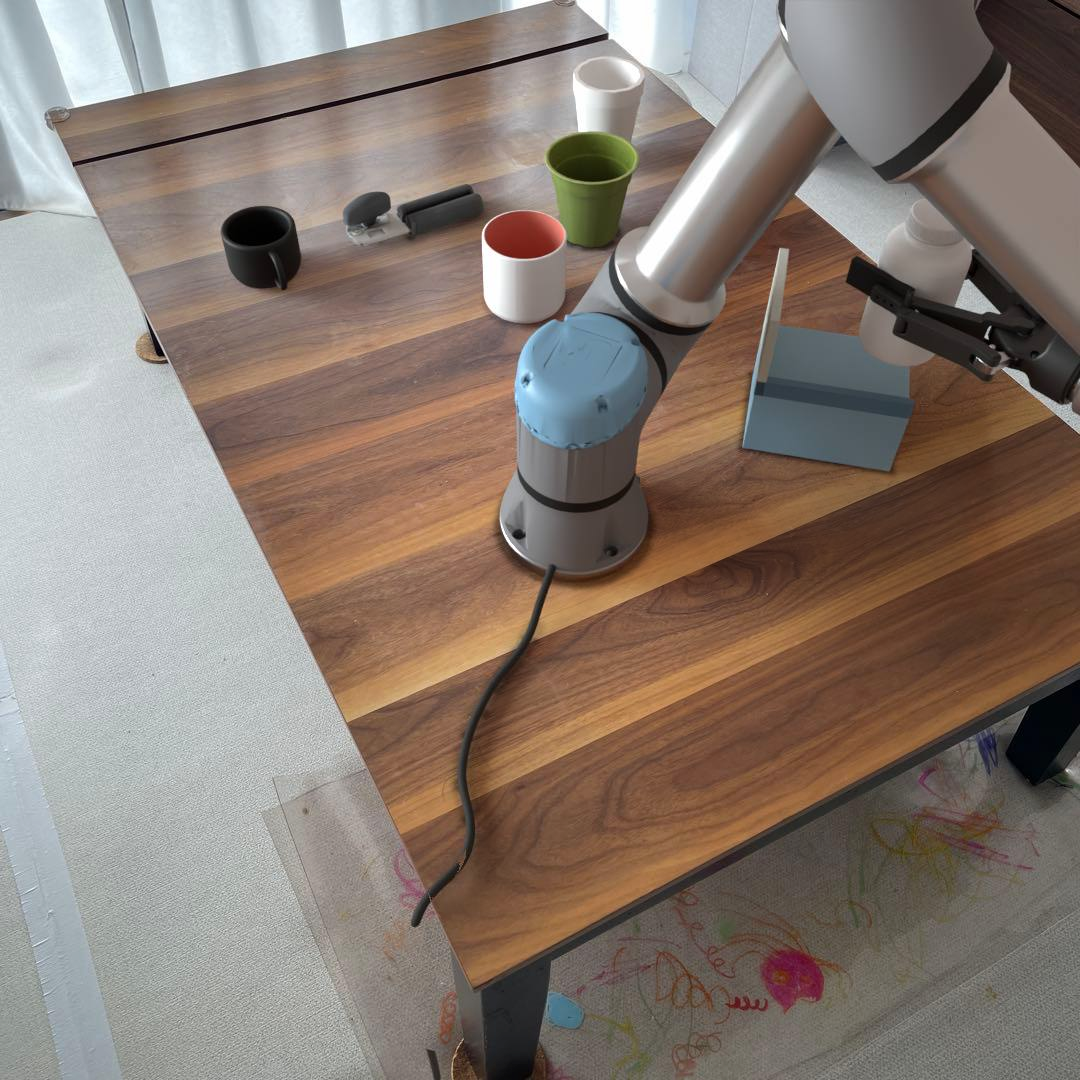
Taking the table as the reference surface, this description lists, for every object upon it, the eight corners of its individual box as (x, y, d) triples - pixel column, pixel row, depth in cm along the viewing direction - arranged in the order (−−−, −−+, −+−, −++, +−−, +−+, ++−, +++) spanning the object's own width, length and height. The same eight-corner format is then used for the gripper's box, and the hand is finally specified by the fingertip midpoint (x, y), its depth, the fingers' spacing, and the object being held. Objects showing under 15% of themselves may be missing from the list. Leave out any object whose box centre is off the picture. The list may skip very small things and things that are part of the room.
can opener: (358, 261, 143) (352, 218, 138) (341, 240, 146) (335, 198, 141) (487, 217, 150) (485, 175, 145) (468, 198, 152) (466, 156, 147)
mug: (222, 264, 143) (210, 217, 137) (288, 244, 145) (279, 197, 140) (254, 318, 136) (242, 270, 130) (323, 296, 139) (315, 248, 133)
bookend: (889, 472, 121) (937, 344, 107) (742, 448, 123) (769, 320, 109) (891, 397, 128) (936, 269, 114) (752, 375, 130) (779, 247, 116)
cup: (556, 333, 135) (558, 265, 127) (475, 322, 136) (472, 254, 128) (571, 283, 141) (574, 215, 133) (494, 272, 142) (492, 204, 134)
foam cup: (648, 156, 159) (657, 69, 149) (616, 187, 154) (622, 99, 144) (591, 136, 162) (596, 49, 152) (558, 166, 157) (560, 78, 147)
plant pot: (587, 195, 153) (590, 120, 144) (651, 233, 148) (659, 157, 139) (525, 231, 148) (524, 155, 139) (589, 271, 142) (593, 195, 134)
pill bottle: (953, 340, 111) (1002, 211, 99) (911, 380, 107) (956, 252, 96) (885, 305, 114) (924, 176, 103) (841, 343, 111) (877, 214, 99)
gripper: (1012, 459, 95) (802, 328, 105) (1135, 351, 104) (930, 240, 114) (1044, 394, 89) (818, 262, 99) (1172, 285, 98) (952, 175, 108)
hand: (878, 250), depth 107 cm, fingers closed on pill bottle, 8 cm apart
